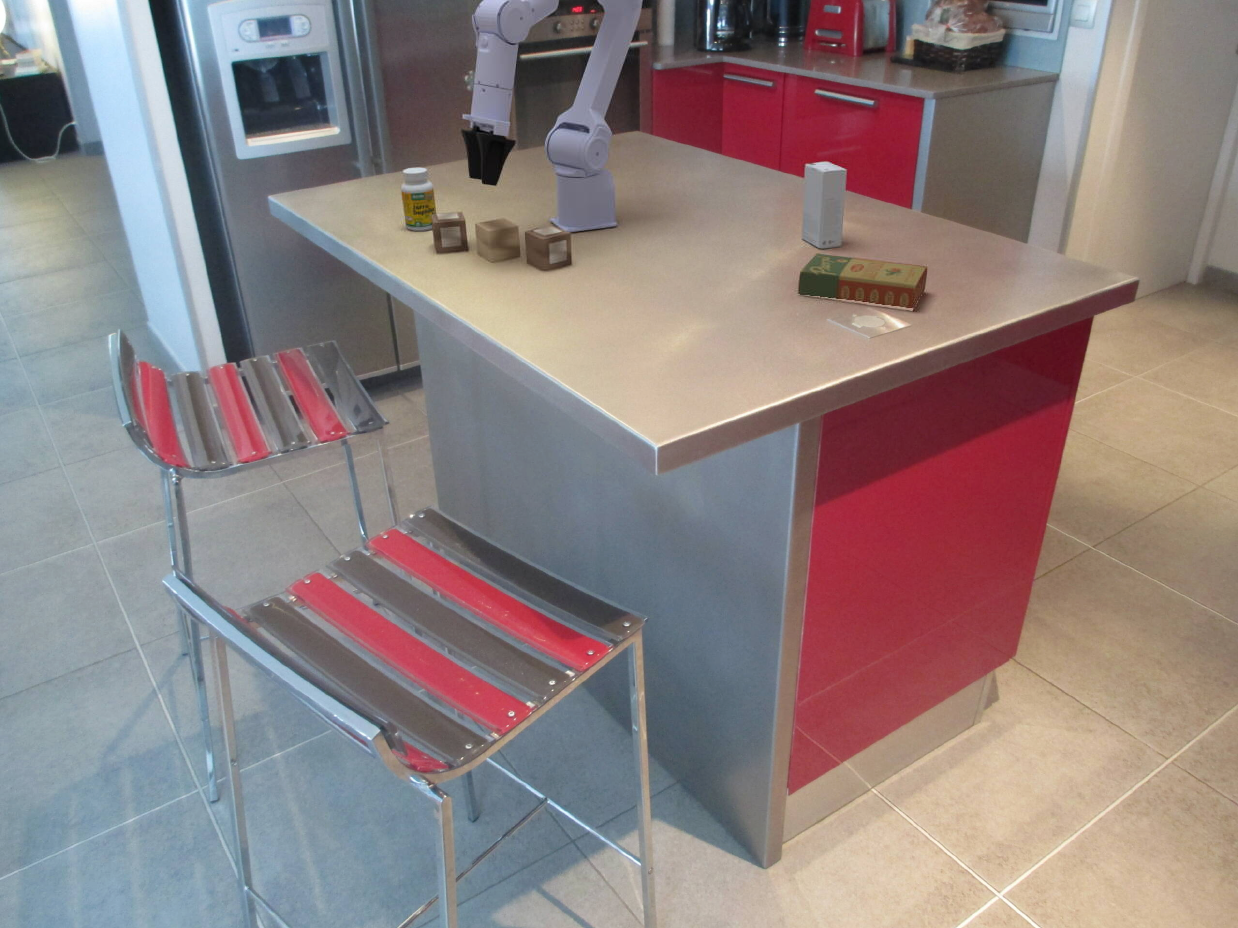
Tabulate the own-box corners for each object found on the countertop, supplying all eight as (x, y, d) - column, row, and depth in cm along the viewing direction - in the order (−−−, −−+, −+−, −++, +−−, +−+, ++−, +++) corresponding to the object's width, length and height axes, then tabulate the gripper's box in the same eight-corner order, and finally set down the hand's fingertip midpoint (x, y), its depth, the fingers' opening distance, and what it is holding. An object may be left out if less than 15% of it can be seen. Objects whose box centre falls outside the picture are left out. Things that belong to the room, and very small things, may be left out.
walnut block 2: (553, 256, 154) (552, 224, 151) (572, 265, 150) (571, 232, 148) (526, 263, 151) (524, 230, 149) (545, 272, 148) (543, 238, 145)
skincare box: (842, 246, 156) (850, 169, 150) (817, 250, 155) (824, 172, 149) (822, 235, 161) (829, 160, 155) (798, 239, 160) (804, 163, 154)
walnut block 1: (465, 242, 161) (461, 210, 158) (468, 251, 157) (465, 219, 154) (434, 244, 160) (430, 213, 157) (436, 254, 156) (433, 222, 153)
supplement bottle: (429, 220, 171) (423, 164, 166) (442, 228, 167) (436, 171, 163) (400, 226, 169) (393, 169, 164) (413, 233, 165) (406, 176, 160)
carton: (912, 315, 132) (916, 284, 130) (796, 298, 138) (798, 268, 136) (924, 294, 138) (928, 264, 136) (812, 279, 144) (815, 250, 142)
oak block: (506, 249, 158) (504, 218, 155) (520, 257, 154) (518, 225, 151) (477, 254, 155) (474, 223, 153) (491, 263, 152) (488, 231, 149)
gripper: (455, 81, 150) (445, 173, 154) (479, 84, 137) (468, 184, 142) (500, 89, 152) (489, 179, 157) (527, 93, 140) (515, 190, 144)
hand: (482, 182), depth 149 cm, fingers open, 7 cm apart
